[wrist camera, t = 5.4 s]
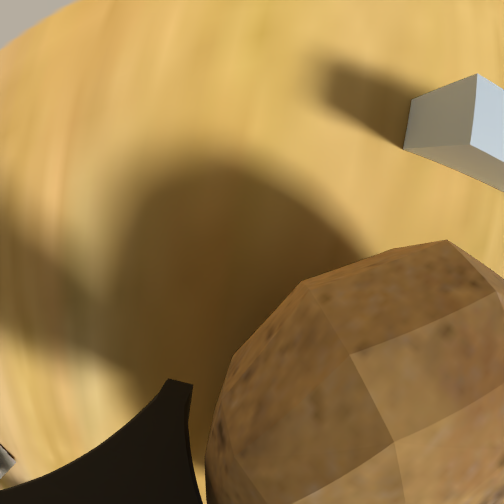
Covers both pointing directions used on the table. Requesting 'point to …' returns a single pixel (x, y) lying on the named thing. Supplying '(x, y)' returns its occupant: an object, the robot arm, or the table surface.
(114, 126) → the table surface
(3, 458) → the condiment
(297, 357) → the potato
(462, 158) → the corner walls
